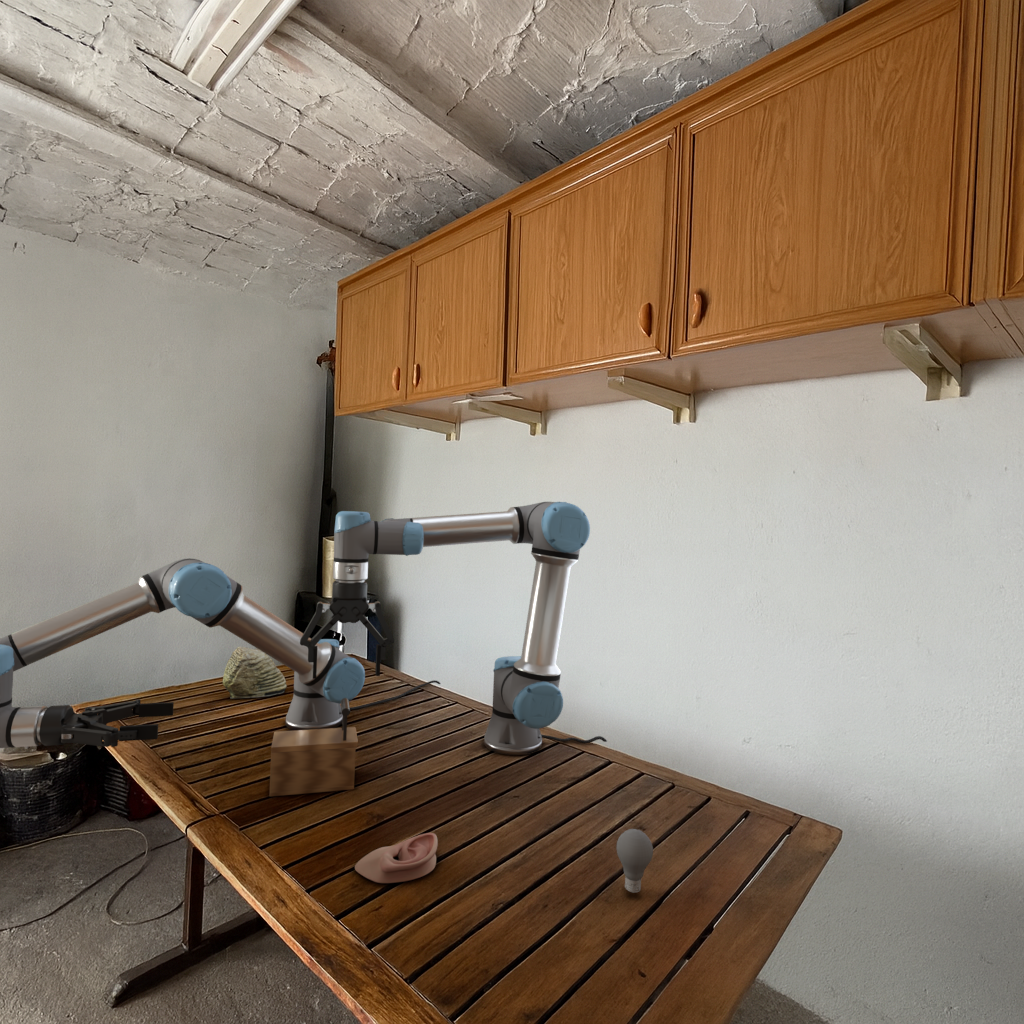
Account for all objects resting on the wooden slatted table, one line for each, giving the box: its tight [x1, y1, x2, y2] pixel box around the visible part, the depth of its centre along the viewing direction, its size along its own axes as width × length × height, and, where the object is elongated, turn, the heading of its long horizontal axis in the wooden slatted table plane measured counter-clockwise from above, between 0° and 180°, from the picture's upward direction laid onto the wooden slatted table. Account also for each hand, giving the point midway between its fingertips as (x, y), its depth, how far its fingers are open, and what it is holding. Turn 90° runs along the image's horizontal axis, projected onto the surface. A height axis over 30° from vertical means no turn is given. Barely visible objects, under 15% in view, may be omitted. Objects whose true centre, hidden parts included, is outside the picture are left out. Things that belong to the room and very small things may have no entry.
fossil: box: [222, 646, 288, 699], centre depth 198 cm, size 9×18×15 cm, turn 132°
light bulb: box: [615, 828, 654, 894], centre depth 106 cm, size 6×6×10 cm
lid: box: [270, 698, 359, 754], centre depth 140 cm, size 18×9×8 cm, turn 107°
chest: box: [269, 747, 357, 797], centre depth 140 cm, size 17×9×9 cm, turn 107°
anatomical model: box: [354, 832, 439, 884], centre depth 110 cm, size 13×4×12 cm
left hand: (165, 719), depth 131 cm, fingers open, 13 cm apart
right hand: (346, 675), depth 141 cm, fingers open, 13 cm apart
